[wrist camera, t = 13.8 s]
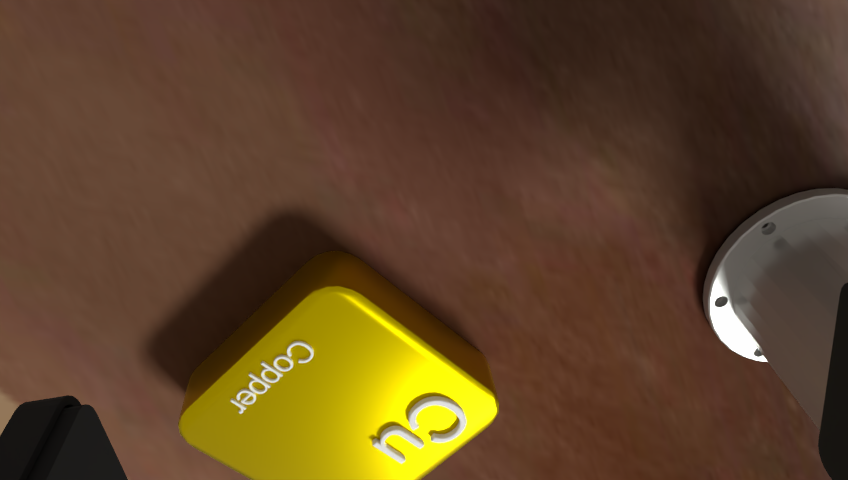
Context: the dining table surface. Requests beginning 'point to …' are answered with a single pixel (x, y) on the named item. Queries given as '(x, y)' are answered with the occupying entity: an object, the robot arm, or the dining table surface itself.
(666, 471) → the dining table surface
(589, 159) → the dining table surface
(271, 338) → the element tile
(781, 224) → the robot arm
